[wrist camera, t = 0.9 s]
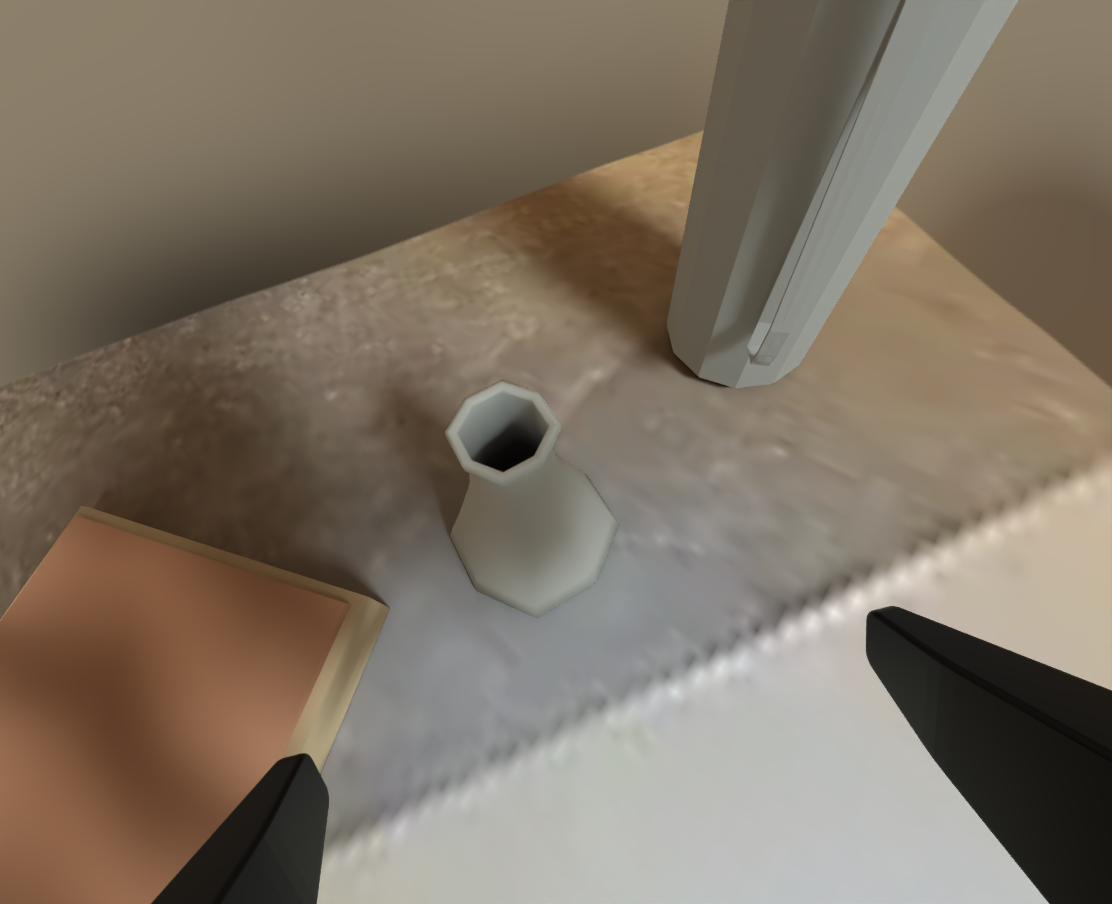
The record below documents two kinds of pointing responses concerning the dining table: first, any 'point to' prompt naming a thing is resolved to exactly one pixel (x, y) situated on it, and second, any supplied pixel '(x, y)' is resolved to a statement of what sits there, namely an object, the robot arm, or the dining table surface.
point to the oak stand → (156, 702)
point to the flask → (524, 503)
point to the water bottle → (808, 165)
